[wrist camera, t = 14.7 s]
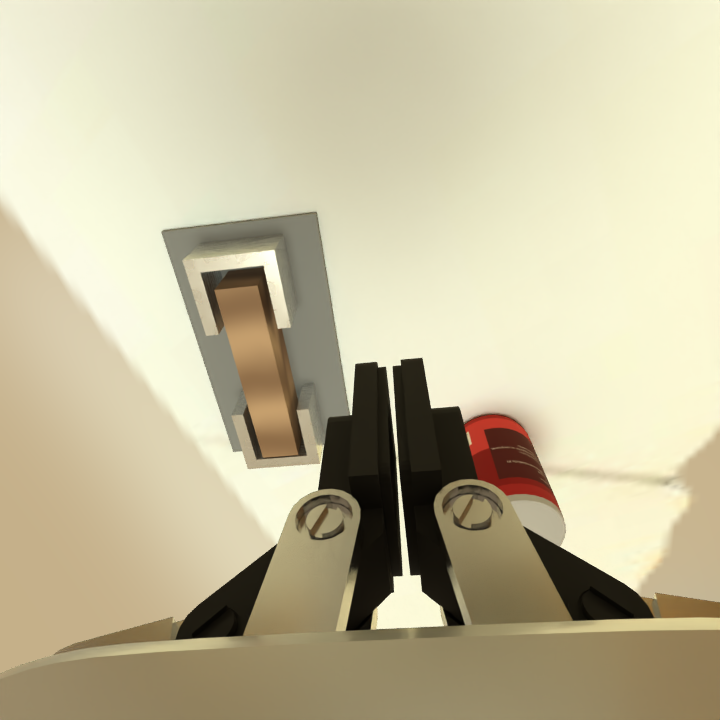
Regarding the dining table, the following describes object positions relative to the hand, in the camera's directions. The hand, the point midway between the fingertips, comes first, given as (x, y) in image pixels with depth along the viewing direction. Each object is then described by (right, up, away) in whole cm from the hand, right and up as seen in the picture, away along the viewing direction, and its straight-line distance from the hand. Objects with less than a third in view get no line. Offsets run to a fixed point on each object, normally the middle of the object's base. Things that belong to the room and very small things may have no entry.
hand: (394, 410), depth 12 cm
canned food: (+12, -7, +35) cm, 38 cm away
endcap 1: (-10, +8, +26) cm, 29 cm away
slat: (-9, +2, +30) cm, 32 cm away
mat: (-9, +2, +30) cm, 32 cm away
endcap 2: (-8, -4, +33) cm, 34 cm away
